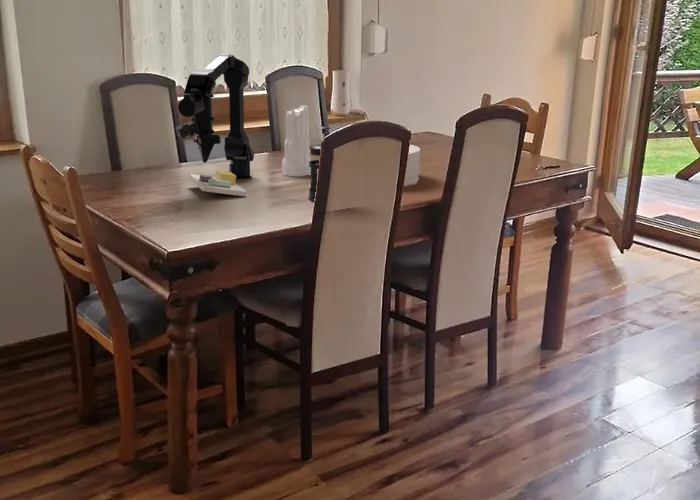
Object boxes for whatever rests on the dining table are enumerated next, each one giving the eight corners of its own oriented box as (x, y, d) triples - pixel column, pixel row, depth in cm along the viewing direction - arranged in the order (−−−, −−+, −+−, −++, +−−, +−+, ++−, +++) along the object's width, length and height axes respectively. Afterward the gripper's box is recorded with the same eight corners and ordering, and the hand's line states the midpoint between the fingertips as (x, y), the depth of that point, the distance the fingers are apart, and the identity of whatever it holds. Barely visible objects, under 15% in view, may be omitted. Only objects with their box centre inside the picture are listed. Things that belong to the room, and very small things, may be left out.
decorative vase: (277, 175, 282) (276, 105, 274) (290, 169, 291) (289, 102, 284) (304, 177, 278) (304, 107, 271) (316, 172, 287) (317, 103, 280)
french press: (300, 199, 246) (300, 126, 240) (319, 194, 254) (319, 123, 247) (329, 205, 240) (330, 130, 233) (348, 200, 247) (349, 127, 240)
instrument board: (228, 183, 266) (231, 170, 265) (246, 196, 248) (248, 182, 247) (188, 178, 260) (190, 165, 259) (203, 191, 242) (205, 176, 241)
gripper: (170, 110, 250) (173, 158, 255) (183, 118, 234) (186, 169, 239) (205, 109, 255) (206, 156, 259) (220, 116, 238) (221, 167, 243)
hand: (204, 162), depth 250 cm, fingers closed
